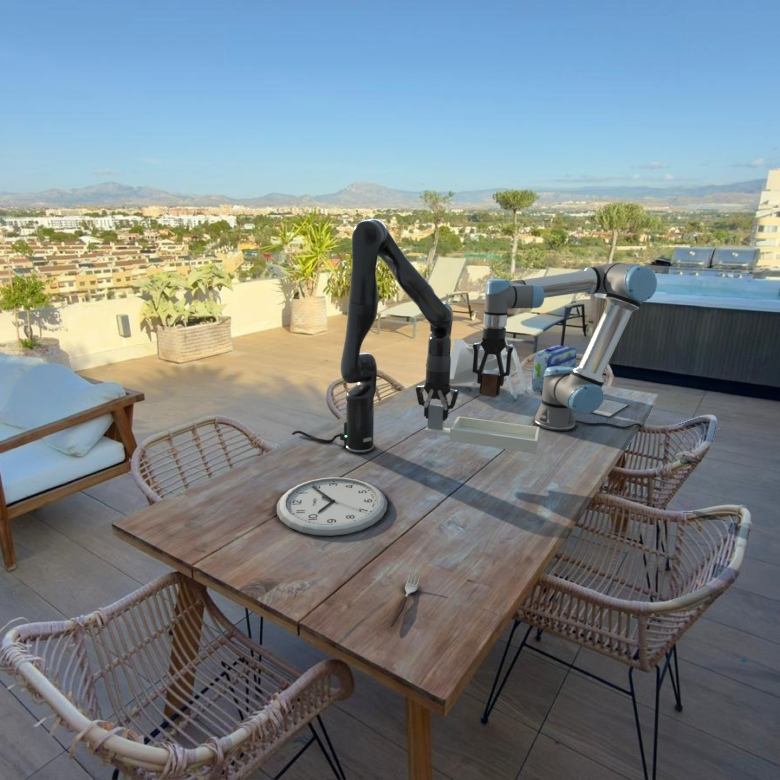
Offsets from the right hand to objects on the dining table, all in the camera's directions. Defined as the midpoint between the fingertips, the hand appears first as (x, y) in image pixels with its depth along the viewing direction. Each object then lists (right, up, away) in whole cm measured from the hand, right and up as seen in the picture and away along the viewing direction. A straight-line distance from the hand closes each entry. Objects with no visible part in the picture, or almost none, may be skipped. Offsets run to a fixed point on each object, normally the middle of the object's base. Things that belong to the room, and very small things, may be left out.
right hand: (489, 393), depth 180 cm
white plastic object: (+7, 0, +63) cm, 64 cm away
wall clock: (-50, -30, -37) cm, 69 cm away
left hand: (-20, -8, -12) cm, 24 cm away
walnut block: (0, 0, 0) cm, 0 cm away
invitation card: (+57, -6, +46) cm, 74 cm away
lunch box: (+43, +1, +68) cm, 81 cm away
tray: (-6, -14, -15) cm, 21 cm away
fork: (-31, -42, -74) cm, 91 cm away
